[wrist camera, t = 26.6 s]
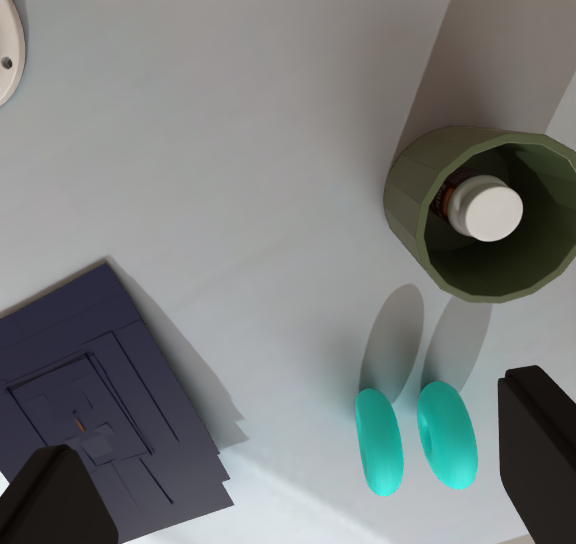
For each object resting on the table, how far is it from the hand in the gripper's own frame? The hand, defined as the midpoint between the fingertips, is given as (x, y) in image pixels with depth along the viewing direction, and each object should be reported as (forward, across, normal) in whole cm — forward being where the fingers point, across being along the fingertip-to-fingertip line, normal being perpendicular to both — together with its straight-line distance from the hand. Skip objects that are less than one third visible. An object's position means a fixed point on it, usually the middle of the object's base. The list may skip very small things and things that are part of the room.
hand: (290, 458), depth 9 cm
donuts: (+31, -7, +25) cm, 40 cm away
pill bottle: (+30, -14, +3) cm, 33 cm away
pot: (+30, -14, +3) cm, 34 cm away
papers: (+31, +26, +20) cm, 45 cm away
